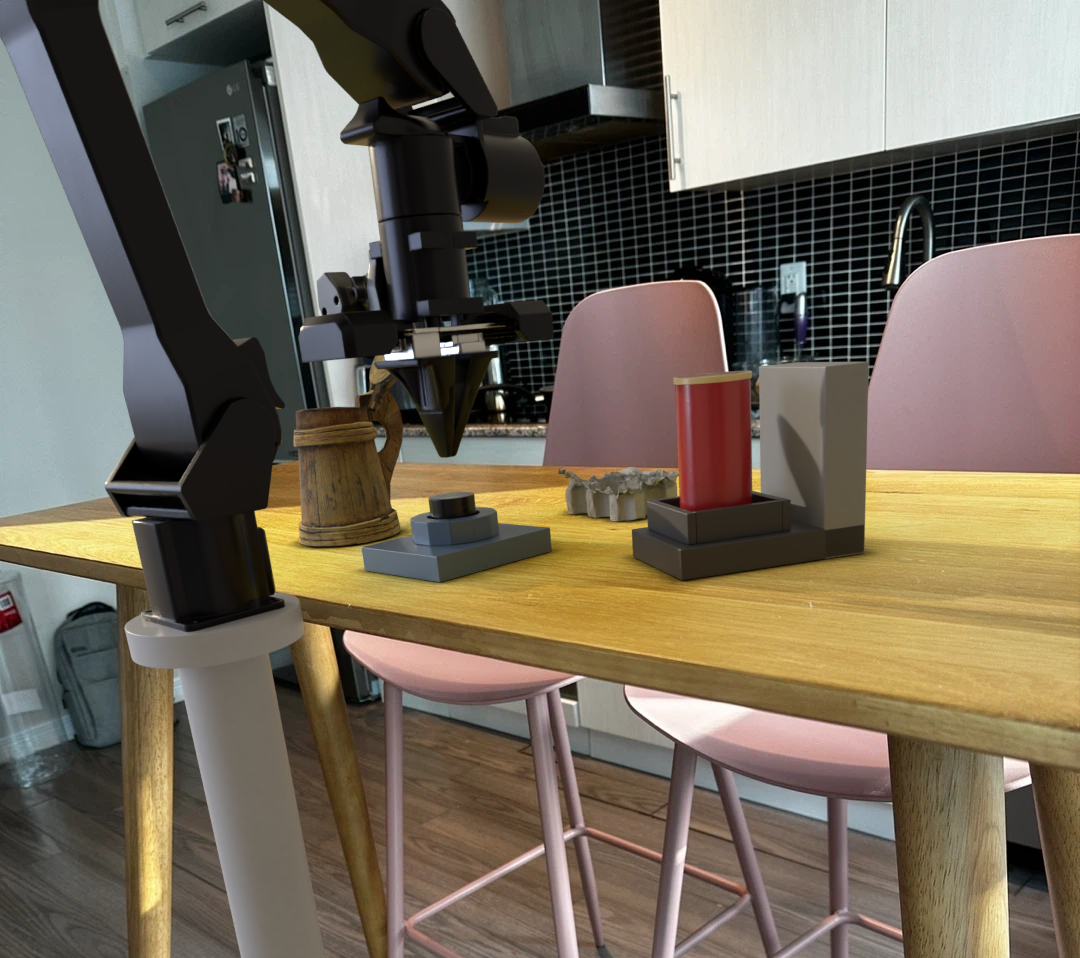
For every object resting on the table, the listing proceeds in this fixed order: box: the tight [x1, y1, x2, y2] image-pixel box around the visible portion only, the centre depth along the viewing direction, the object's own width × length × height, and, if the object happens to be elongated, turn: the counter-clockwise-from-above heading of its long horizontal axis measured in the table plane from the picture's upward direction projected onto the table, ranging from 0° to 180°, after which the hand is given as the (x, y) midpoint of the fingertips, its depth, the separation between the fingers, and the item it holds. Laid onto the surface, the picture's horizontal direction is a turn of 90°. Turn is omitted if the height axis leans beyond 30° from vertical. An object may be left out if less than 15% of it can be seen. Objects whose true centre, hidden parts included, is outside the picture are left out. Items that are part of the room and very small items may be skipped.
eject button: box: [428, 491, 477, 520], centre depth 76 cm, size 3×3×2 cm
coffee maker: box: [631, 361, 870, 581], centre depth 68 cm, size 13×9×12 cm
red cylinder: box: [672, 370, 753, 512], centre depth 68 cm, size 5×5×10 cm
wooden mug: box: [293, 323, 417, 548], centre depth 90 cm, size 9×14×18 cm, turn 124°
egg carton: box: [557, 466, 679, 522], centre depth 91 cm, size 11×8×4 cm
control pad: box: [361, 506, 553, 583], centre depth 77 cm, size 11×9×4 cm
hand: (447, 456), depth 75 cm, fingers closed
